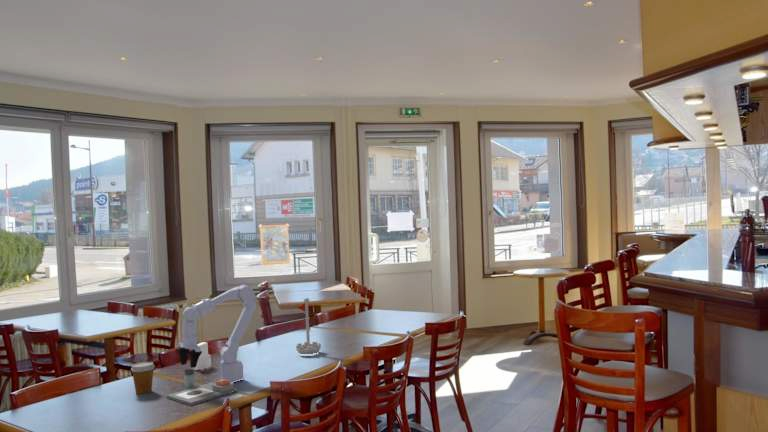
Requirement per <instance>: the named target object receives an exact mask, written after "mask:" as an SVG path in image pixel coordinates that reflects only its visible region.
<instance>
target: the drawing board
mask: <svg viewBox="0 0 768 432" xmlns="http://www.w3.org/2000/svg"><path fill="white" fill-rule="evenodd" d="M237 389H238V388H236V387H235V383H230V384H229V385H225V386H222V387H221V386H217V385H216V382H214V381H211V382H208V383H205V384H201V385H197V386H195V387H193V388H190V389H183V390H181V391H176V392H173V393H169V394H167V395H166V398H167V399H168V400H172V401H174V400H175V402H178V403H181V404H185V405H187V406H190V407H191V406H195V405H197V403H198V404H201V403H204V402H207V401H206V400H208V401H210V400H209V399H211V400H213V399H212V398H214V399H216V398H215V397H217V398H220V397H223V396H222V395H224V396H226V395H225V394H227V393H230V392H232V391H235V390H237ZM237 391H238V390H237ZM230 394H231V393H230ZM227 395H228V394H227ZM219 396H220V397H219ZM203 401H204V402H203ZM200 402H201V403H200Z"/></svg>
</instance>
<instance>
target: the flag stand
mask: <svg viewBox="0 0 768 432" xmlns="http://www.w3.org/2000/svg"><path fill="white" fill-rule="evenodd" d="M303 303H304V304H301V305H299V306H298V307H297V309H298V310H301V311H303V312H304V313H305V328H306V329H305V331H306V341H304V342H303V344H302V343H301V342H300V343H299V342H298V343H297V344H295V349H296V351H297V352H298V353H300V354H313V353H317V352H319V353H320V350H321V349H322V347H321V346H322V343H321V342H318V341H312V343H310V341H311V340H310V321H309V319H310V318H309V303H310V299H309V298H308V297H305V298H304V299H303ZM298 353H297V354H298Z"/></svg>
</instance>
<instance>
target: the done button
mask: <svg viewBox="0 0 768 432" xmlns="http://www.w3.org/2000/svg"><path fill="white" fill-rule="evenodd" d="M215 383H216V385H217V386H221V387H222V386H225V385H229V384H230V381H229V380H226V379H222V380H221V379H220V380H215Z"/></svg>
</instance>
